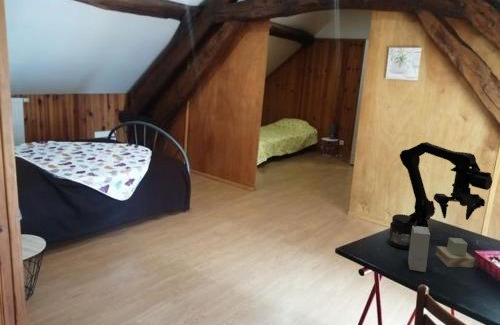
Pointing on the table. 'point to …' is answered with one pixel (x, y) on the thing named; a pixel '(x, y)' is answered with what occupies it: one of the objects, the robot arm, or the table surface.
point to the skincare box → (419, 248)
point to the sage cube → (457, 246)
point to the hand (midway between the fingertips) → (455, 219)
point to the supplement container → (401, 231)
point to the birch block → (454, 258)
